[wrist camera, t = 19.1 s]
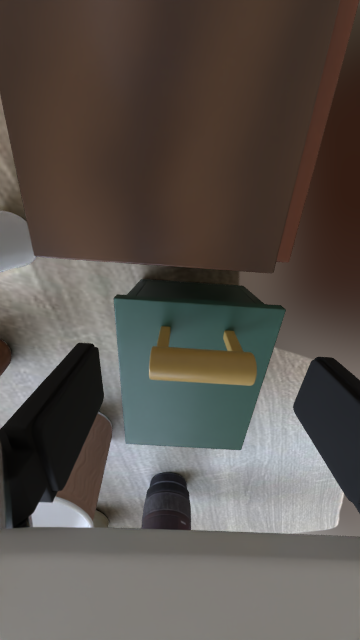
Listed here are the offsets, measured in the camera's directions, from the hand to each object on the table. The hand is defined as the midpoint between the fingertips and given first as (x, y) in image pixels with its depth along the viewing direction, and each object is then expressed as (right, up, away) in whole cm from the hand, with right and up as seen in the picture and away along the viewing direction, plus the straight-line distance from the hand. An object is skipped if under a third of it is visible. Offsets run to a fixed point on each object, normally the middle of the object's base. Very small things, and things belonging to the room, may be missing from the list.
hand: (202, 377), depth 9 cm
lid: (0, -3, +9) cm, 9 cm away
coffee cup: (-15, -14, +23) cm, 31 cm away
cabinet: (-2, +15, +10) cm, 19 cm away
